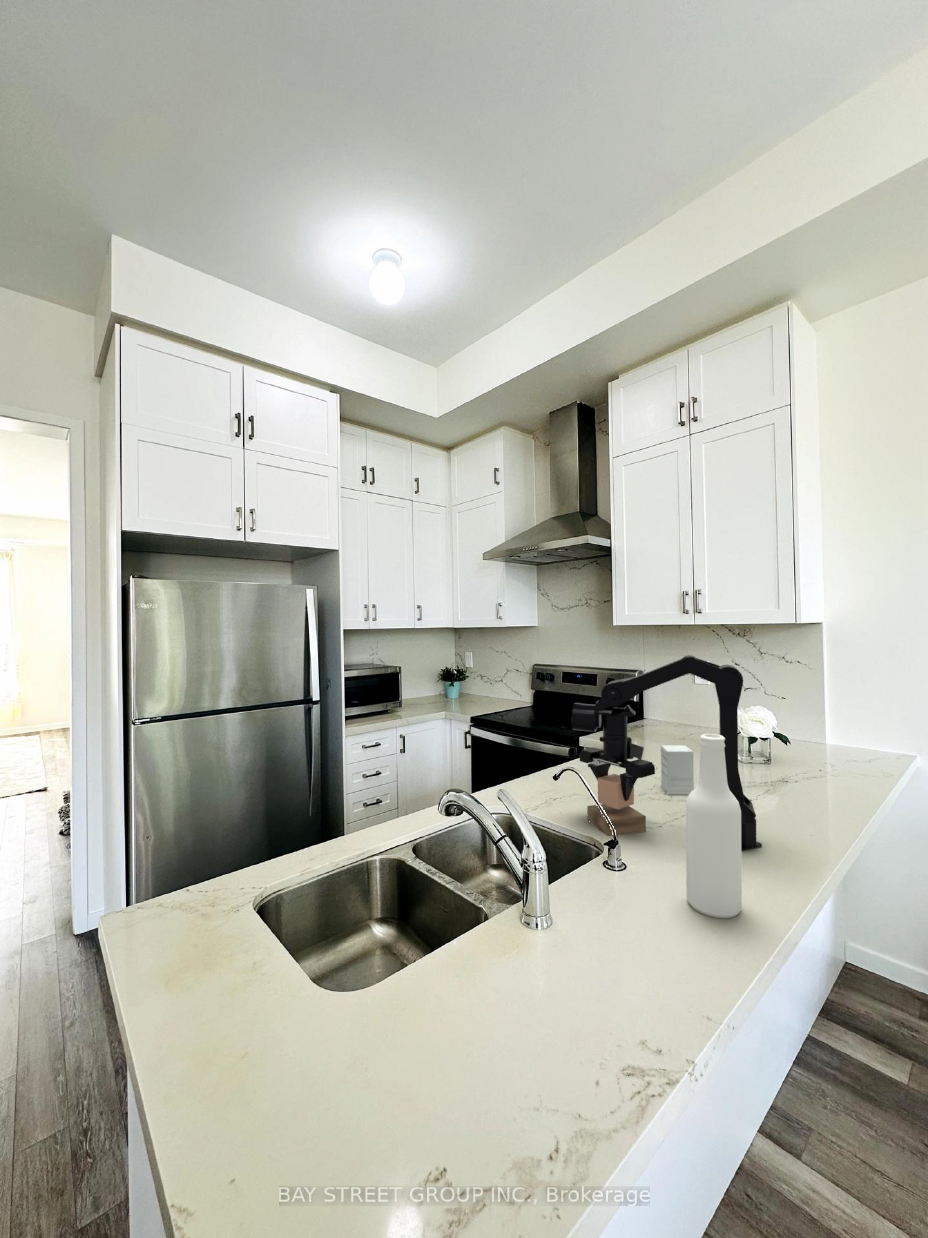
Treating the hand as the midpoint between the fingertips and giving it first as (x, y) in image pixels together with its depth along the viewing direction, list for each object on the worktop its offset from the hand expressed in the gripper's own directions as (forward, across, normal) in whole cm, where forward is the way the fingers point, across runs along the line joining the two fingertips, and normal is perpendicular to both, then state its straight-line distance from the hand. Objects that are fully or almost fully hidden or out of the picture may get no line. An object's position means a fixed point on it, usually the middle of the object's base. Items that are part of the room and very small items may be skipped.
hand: (615, 797), depth 129 cm
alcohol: (+7, -34, +15) cm, 38 cm away
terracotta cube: (+2, 0, 0) cm, 2 cm away
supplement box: (+7, +7, -35) cm, 36 cm away
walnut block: (+7, 0, 0) cm, 7 cm away
